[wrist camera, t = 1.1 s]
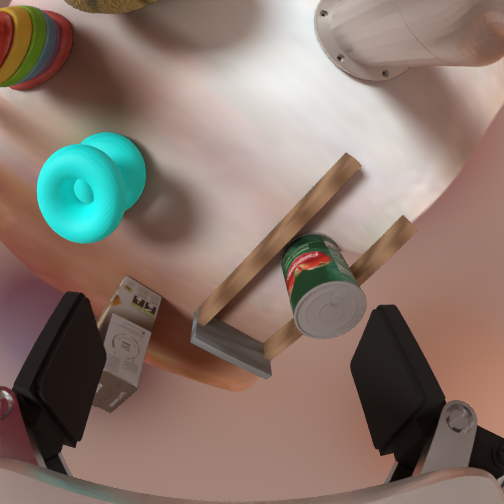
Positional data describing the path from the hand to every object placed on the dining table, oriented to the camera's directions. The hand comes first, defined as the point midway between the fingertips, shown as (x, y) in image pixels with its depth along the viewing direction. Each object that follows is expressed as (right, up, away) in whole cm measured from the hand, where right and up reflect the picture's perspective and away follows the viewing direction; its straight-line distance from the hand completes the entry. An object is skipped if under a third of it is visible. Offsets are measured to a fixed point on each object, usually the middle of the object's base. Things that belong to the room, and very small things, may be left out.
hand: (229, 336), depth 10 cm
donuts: (-16, +12, +24) cm, 31 cm away
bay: (+7, 0, +32) cm, 32 cm away
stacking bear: (-25, +28, +14) cm, 40 cm away
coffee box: (-17, -5, +34) cm, 38 cm away
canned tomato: (+8, +2, +31) cm, 32 cm away
